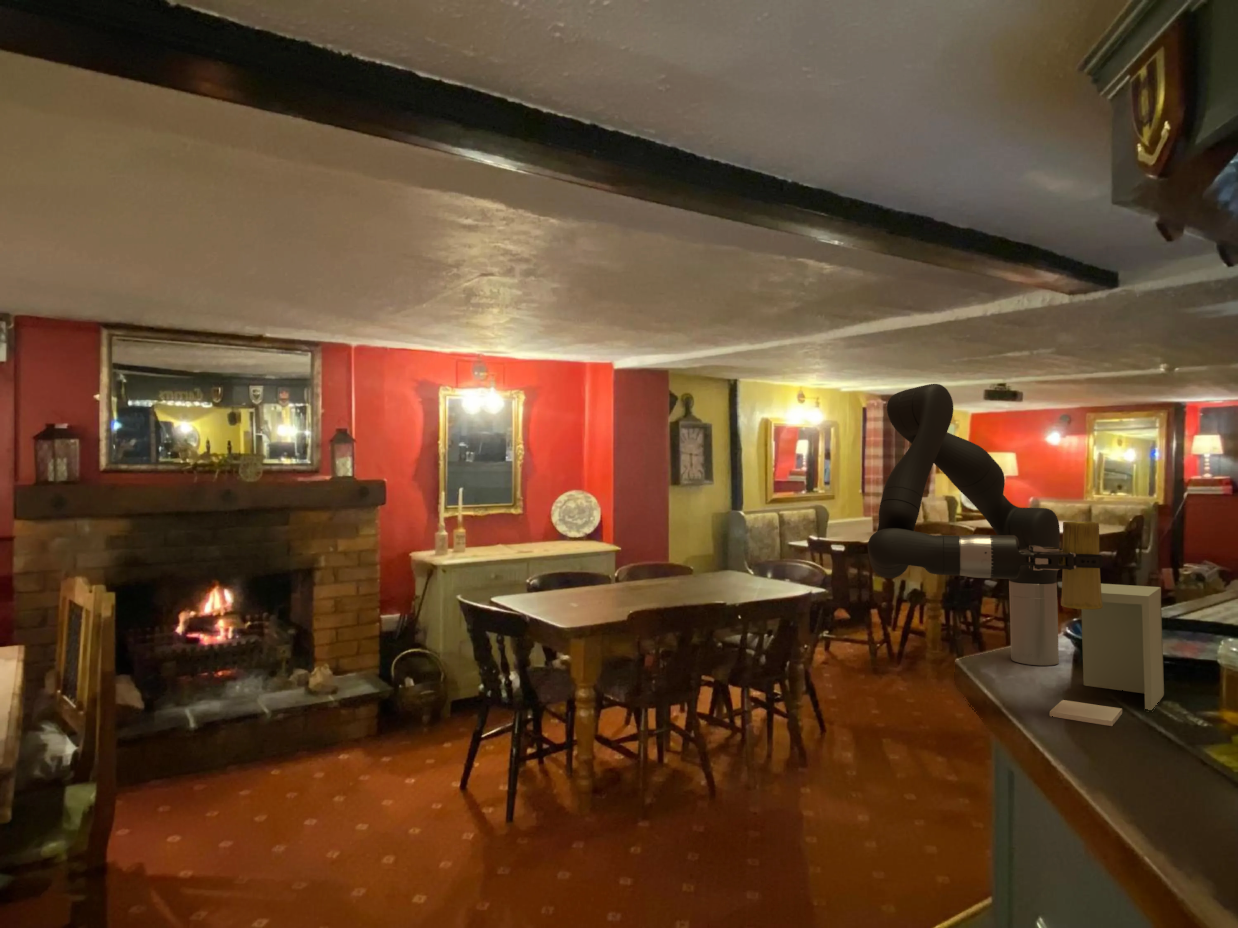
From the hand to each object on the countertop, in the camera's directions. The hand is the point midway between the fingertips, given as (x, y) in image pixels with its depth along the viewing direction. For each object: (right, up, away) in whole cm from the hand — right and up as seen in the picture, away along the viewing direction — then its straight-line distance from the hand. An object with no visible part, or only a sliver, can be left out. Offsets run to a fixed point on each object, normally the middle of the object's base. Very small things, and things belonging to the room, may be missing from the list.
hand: (1098, 559), depth 135 cm
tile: (-2, -26, 0) cm, 26 cm away
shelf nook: (+10, -26, +11) cm, 30 cm away
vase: (-2, -8, +1) cm, 9 cm away
